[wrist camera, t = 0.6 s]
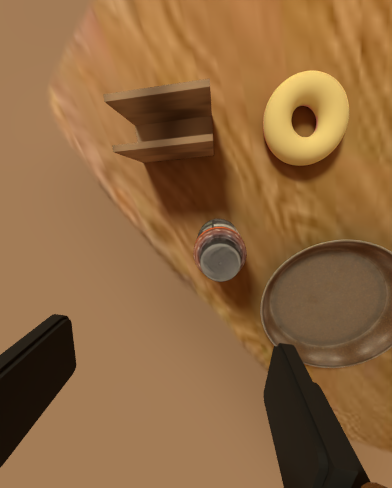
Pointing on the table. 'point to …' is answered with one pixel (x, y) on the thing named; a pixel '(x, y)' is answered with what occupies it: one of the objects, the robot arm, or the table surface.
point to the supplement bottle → (219, 250)
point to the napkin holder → (167, 121)
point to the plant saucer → (332, 303)
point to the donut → (326, 112)
